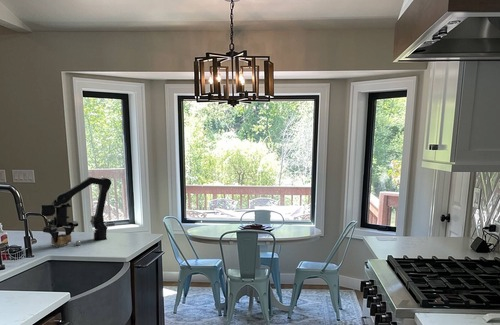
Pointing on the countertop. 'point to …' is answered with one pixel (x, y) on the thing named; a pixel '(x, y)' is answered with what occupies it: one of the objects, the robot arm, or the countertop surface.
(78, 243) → the grey metal cylinder
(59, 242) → the wooden square frame
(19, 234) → the countertop surface
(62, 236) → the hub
